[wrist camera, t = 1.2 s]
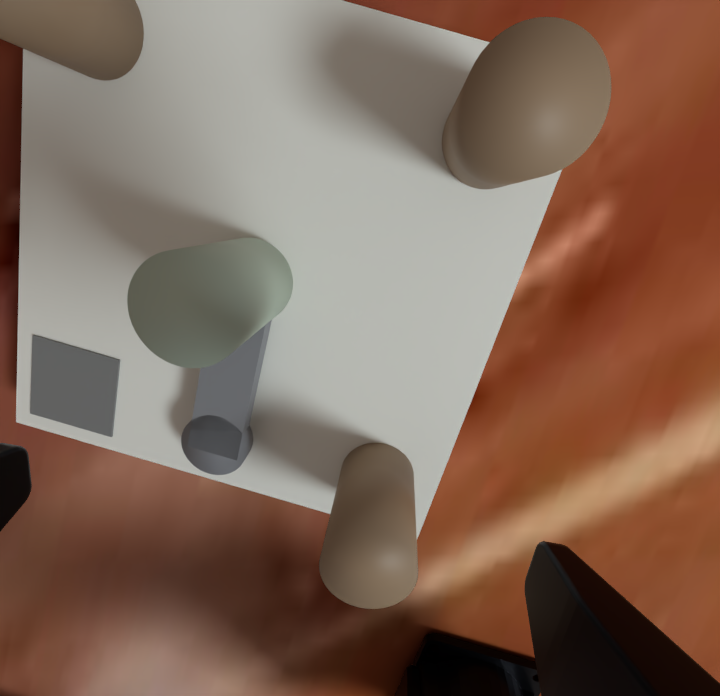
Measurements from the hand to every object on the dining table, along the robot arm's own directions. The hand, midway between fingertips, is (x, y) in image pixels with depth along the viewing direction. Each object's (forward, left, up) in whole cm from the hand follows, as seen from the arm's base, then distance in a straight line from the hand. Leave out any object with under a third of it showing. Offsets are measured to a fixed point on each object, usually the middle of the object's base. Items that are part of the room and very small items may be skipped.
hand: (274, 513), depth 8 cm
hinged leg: (+4, +1, -9) cm, 10 cm away
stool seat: (+4, -2, -11) cm, 12 cm away
